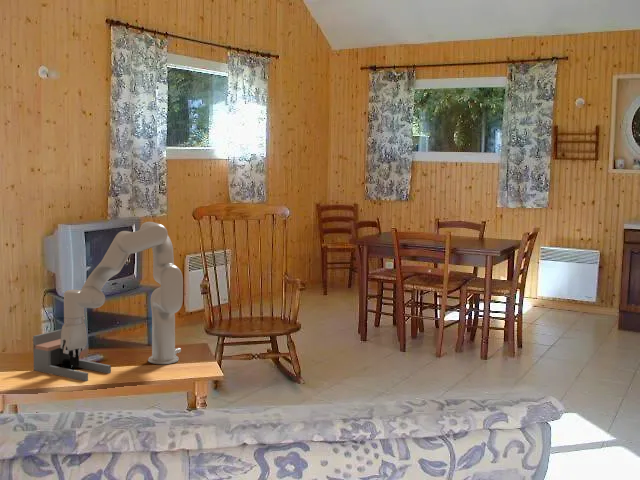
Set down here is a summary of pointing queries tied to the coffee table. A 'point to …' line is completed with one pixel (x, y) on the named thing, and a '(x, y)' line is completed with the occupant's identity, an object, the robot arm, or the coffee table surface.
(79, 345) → the robot arm
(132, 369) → the coffee table surface
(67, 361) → the black block
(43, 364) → the grey forked stand
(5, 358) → the coffee table surface
